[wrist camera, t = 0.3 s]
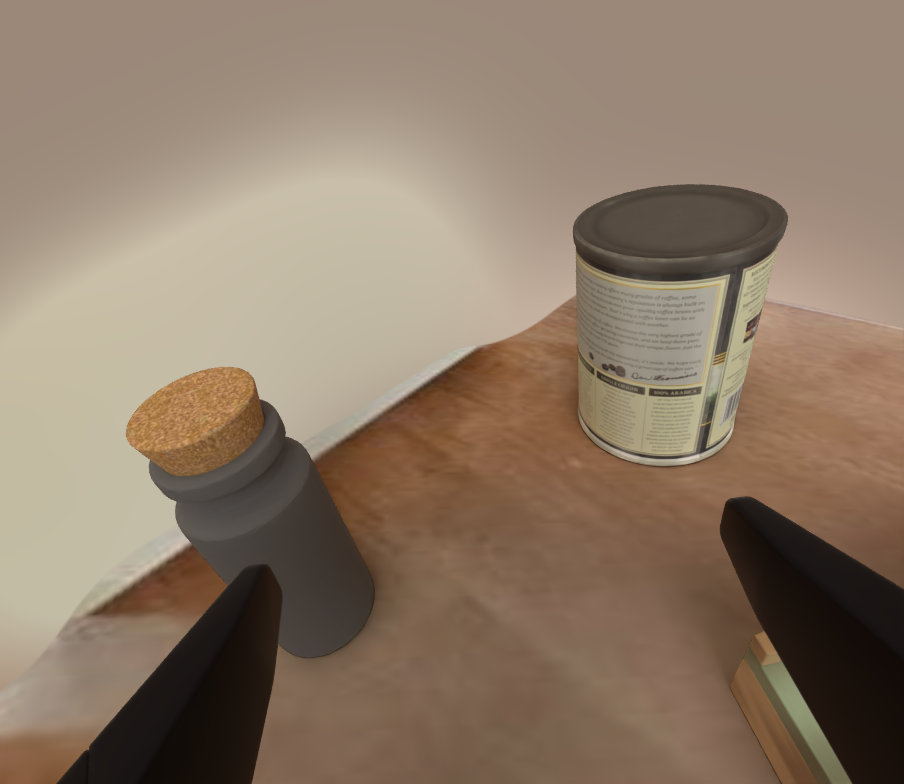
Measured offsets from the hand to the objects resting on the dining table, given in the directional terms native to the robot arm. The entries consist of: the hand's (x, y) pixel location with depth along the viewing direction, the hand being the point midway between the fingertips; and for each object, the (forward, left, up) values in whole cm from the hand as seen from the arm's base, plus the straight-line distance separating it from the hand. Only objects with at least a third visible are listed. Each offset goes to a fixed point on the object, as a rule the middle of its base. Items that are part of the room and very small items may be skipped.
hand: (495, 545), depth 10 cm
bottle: (+10, +10, -17) cm, 22 cm away
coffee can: (+19, -13, -17) cm, 28 cm away
